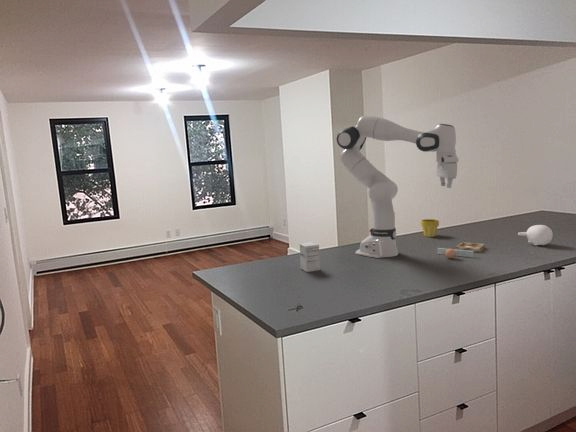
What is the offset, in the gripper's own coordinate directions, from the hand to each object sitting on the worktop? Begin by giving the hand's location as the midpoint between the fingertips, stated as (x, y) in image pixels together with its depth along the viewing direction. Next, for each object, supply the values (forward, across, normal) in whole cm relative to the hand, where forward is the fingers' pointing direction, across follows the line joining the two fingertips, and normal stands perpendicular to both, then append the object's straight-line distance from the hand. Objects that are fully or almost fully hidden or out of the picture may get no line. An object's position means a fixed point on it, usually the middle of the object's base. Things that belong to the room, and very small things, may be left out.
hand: (446, 186), depth 231 cm
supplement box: (+36, +8, -67) cm, 77 cm away
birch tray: (+36, -21, +19) cm, 46 cm away
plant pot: (+36, -59, +8) cm, 70 cm away
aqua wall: (+36, -9, +7) cm, 38 cm away
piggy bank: (+37, -26, +57) cm, 73 cm away
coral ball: (+34, -3, +3) cm, 34 cm away
